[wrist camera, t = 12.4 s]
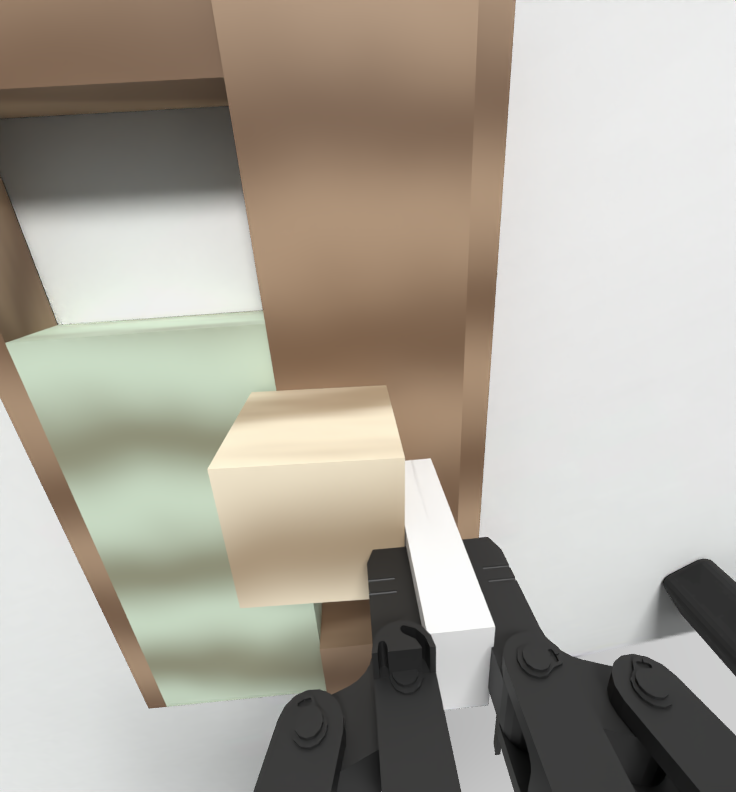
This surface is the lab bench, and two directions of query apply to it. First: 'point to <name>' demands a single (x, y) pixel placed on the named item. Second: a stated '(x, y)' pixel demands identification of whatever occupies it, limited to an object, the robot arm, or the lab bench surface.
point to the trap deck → (263, 298)
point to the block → (309, 493)
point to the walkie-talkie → (707, 605)
